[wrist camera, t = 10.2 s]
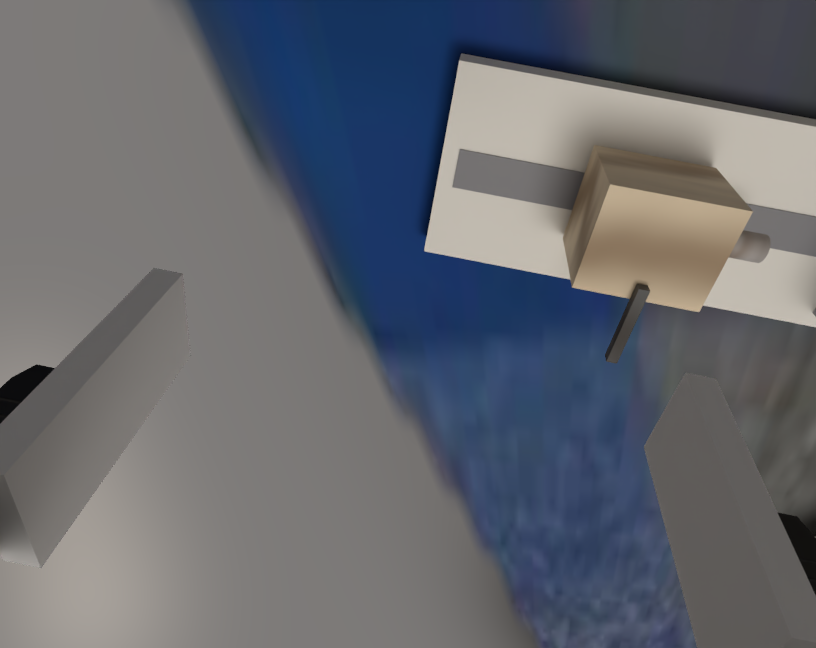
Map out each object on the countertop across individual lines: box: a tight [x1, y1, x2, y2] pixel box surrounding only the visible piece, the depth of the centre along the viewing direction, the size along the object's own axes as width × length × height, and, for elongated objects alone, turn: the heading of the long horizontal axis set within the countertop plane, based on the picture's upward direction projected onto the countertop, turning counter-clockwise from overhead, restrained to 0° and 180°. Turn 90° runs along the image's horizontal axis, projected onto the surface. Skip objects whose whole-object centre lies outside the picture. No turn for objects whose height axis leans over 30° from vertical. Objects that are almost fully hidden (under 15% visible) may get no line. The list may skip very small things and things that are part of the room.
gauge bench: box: [424, 53, 816, 327], centre depth 33 cm, size 12×30×10 cm, turn 82°
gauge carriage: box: [563, 145, 771, 363], centre depth 33 cm, size 10×10×7 cm
